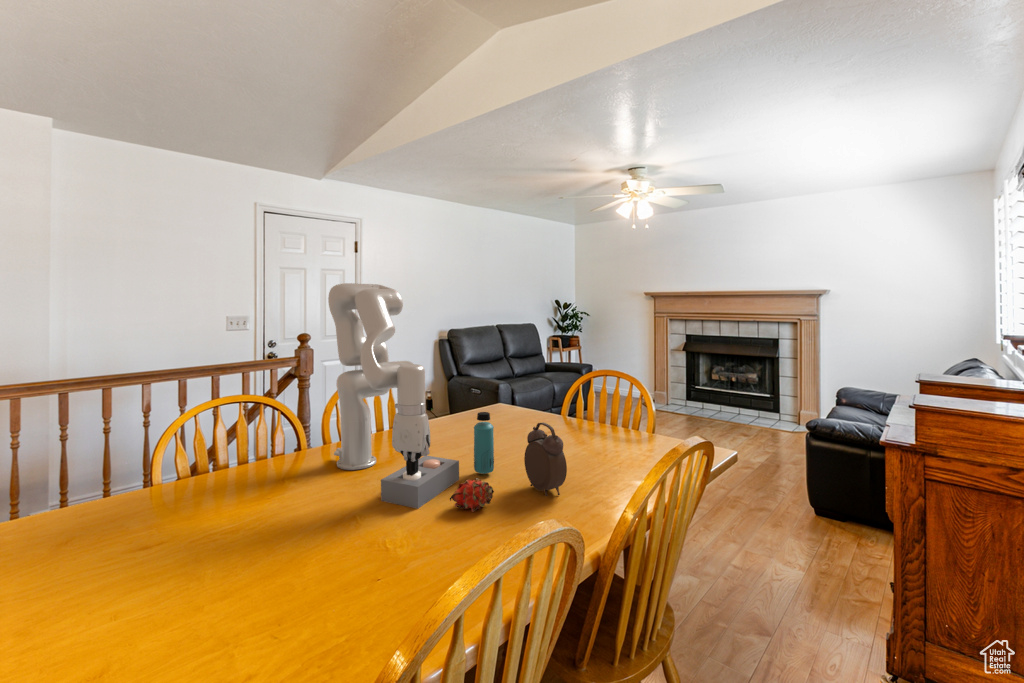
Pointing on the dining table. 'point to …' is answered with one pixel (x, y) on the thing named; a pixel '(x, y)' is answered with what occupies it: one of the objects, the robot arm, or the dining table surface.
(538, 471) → the alarm clock
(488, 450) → the beverage bottle
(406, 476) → the white rounded piece
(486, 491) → the dragon fruit
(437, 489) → the grey rectangular block
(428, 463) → the brown egg
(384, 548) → the dining table surface
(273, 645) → the dining table surface
